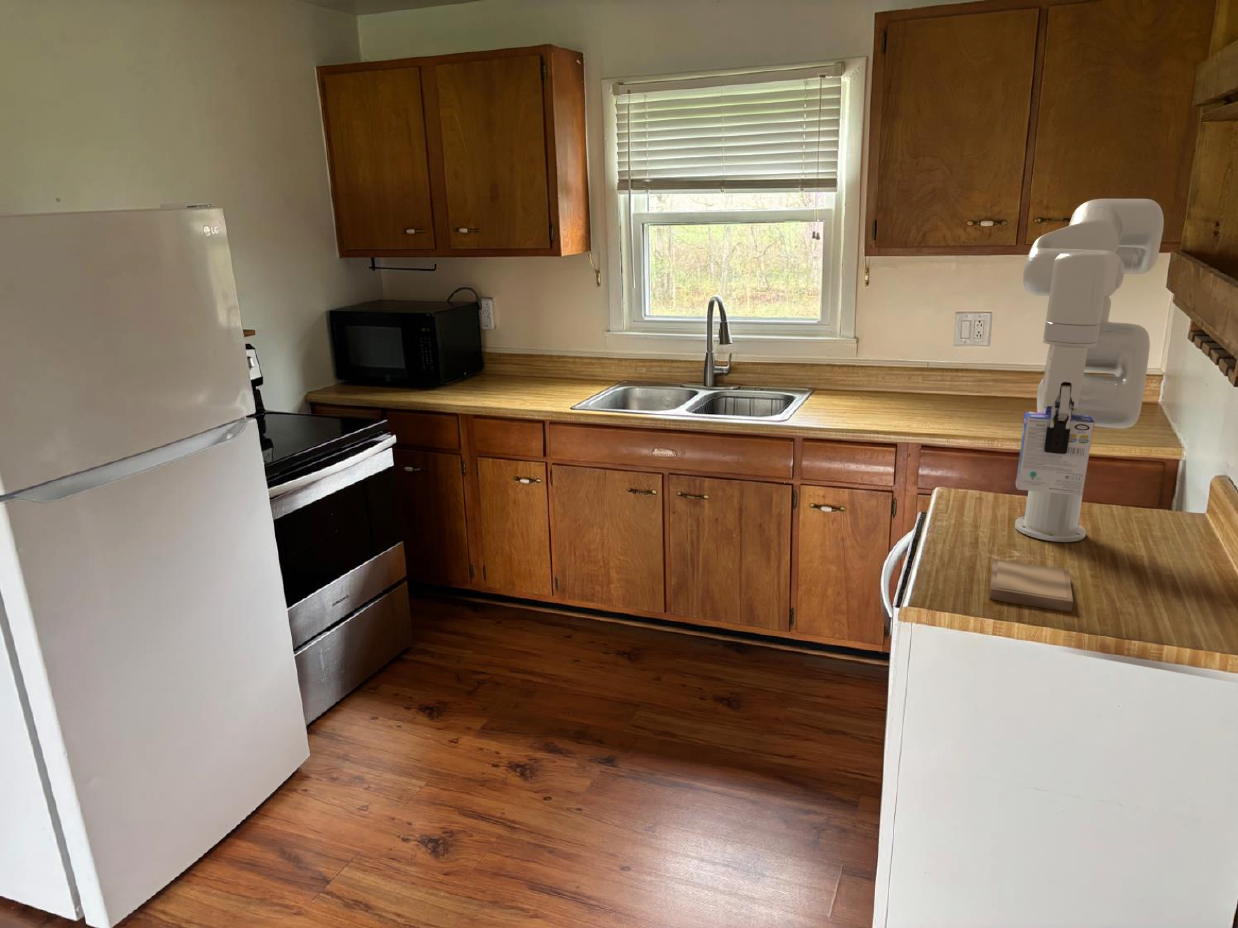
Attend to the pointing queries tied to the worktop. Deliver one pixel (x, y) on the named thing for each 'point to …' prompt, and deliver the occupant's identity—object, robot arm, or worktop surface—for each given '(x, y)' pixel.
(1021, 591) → the board
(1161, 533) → the worktop surface
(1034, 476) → the ink cartridge box
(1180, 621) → the worktop surface
